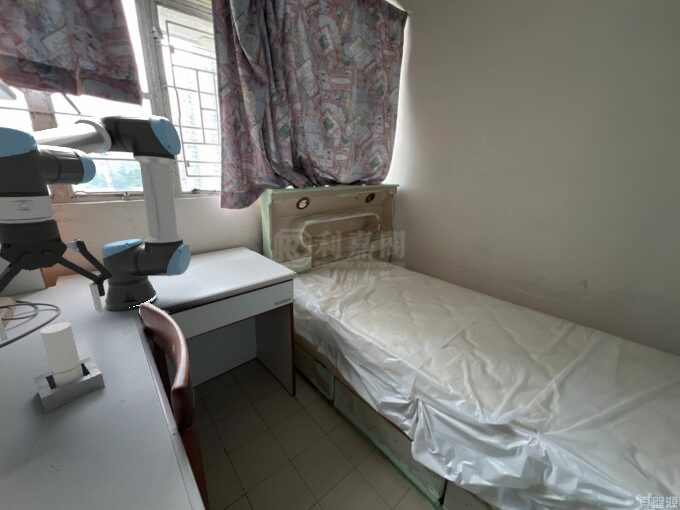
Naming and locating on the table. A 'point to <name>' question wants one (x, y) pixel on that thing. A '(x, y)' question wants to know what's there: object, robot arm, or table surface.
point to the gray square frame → (69, 386)
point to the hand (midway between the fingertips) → (56, 322)
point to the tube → (62, 353)
